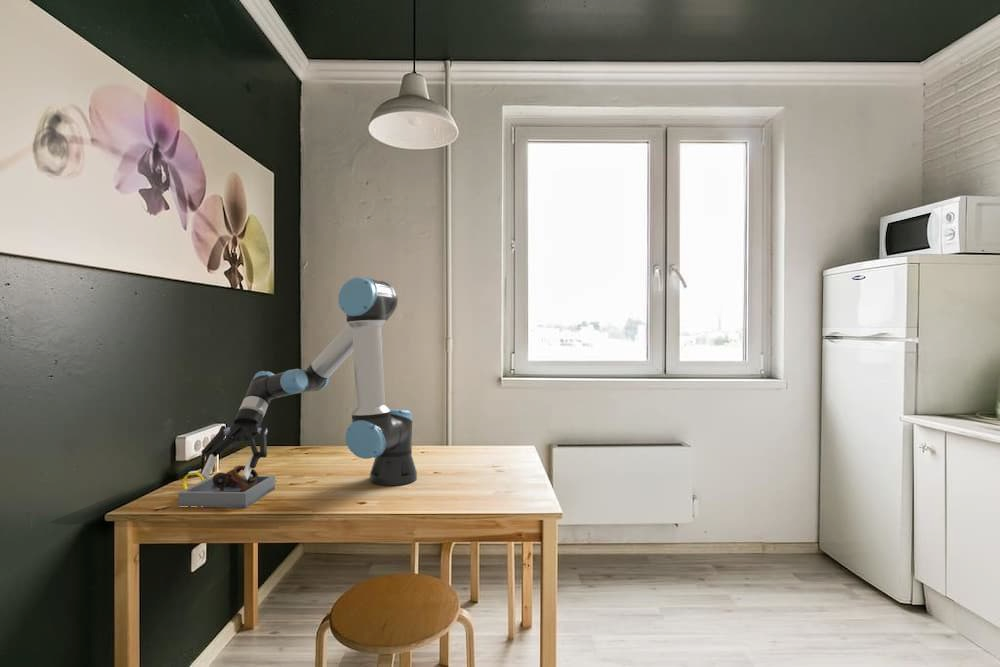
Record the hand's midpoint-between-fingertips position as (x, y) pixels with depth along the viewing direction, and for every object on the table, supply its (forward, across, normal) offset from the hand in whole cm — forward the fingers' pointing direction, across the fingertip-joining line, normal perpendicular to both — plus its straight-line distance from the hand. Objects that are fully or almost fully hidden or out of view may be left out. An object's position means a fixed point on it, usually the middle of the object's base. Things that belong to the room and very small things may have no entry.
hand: (224, 477), depth 153 cm
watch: (-1, +14, -11) cm, 18 cm away
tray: (+3, 0, -7) cm, 7 cm away
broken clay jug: (0, 0, -8) cm, 8 cm away
